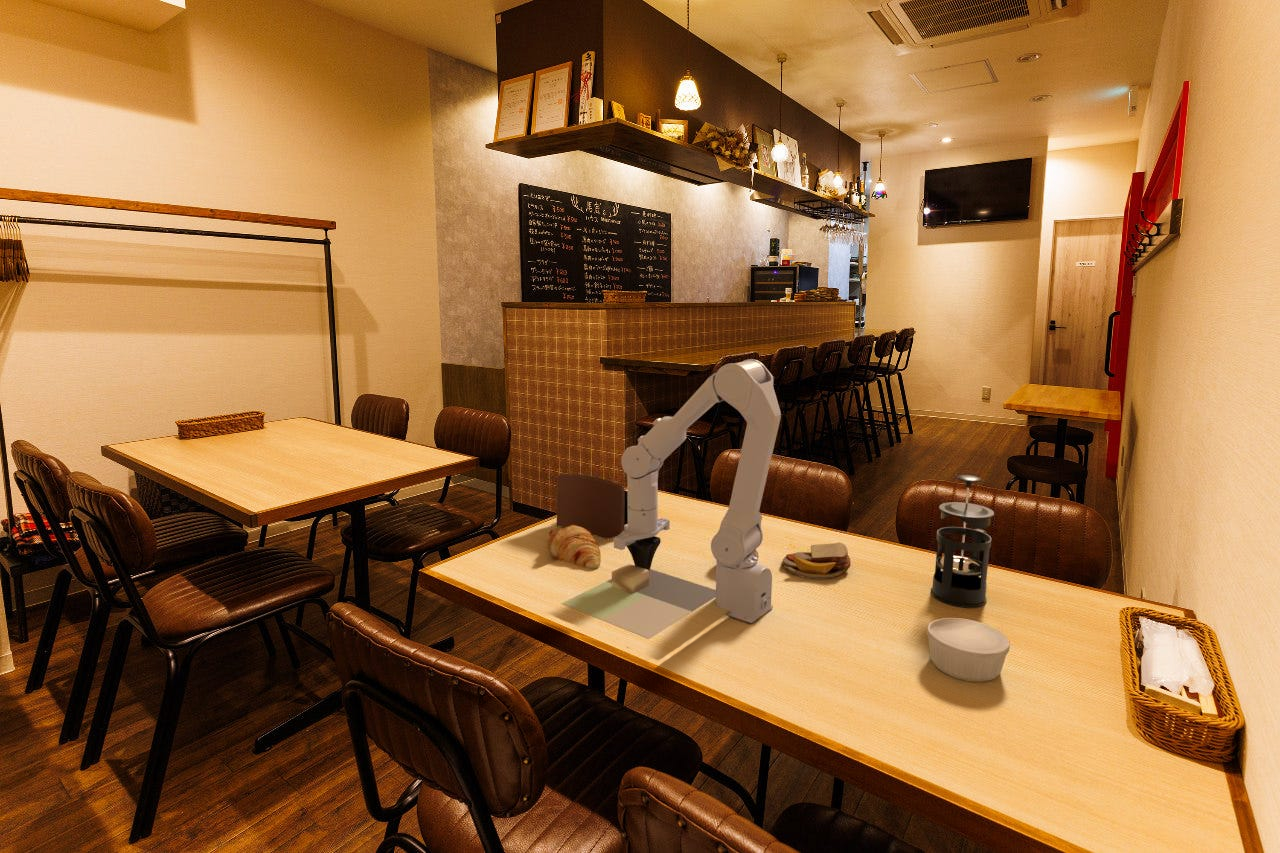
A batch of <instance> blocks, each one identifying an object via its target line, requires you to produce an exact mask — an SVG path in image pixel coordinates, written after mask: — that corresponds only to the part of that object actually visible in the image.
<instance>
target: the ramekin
mask: <svg viewBox="0 0 1280 853" xmlns="http://www.w3.org/2000/svg"><path fill="white" fill-rule="evenodd" d="M926 635H927V636H928V648H929V656H930V659H931V661H932V662H933V664H934V665H935V667H936V668H937V669H938V670H940V671H941V672H943V673H944V674H946V675H948V676H951V677H953V678H954V679H958V680H961V679H962V681H966V682H973V683H977V682H978V683H982V682H989V681H992V680H994V679H995V678H997V677H998V676H999V675H1000V674H1001V672H1002V670H1003V667H1004V664H1005V660H1006V657H1007V655H1008V654H1009V652H1010V644H1011V643H1010V641H1009V638H1007V635H1005V634H1004V633H1003V632H1002V631H1000V630H999V629H997V628H995V627H993V626H991V625H989V624H987V623H983V622H980V621H977V620H973V619H968V618H960V617H942V618H939V619H938V618H937V619H935V620H933V621H930V622H929V624H928V625H927V628H926Z"/></svg>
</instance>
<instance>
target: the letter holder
mask: <svg viewBox="0 0 1280 853" xmlns="http://www.w3.org/2000/svg"><path fill="white" fill-rule="evenodd" d="M626 524H628V502H627V490H626V489H625V488H624V487H623V485H621V484H619V483H616V482H614V481H611V480H607V479H605V478H600V477H598V476H597V477H596V476H591V475H588V474H587V475H585V474H578V473H560V474H557V476H556V527H557V526H560V527H559V528H562V527H563V528H565V527H567V526H570V525H575V526H579V527H582V528H584V529H586V530H588V531H589V532H590V533H591V534H592V536H595V535H596V537H599V536H601V537H600V538H603V537H604V538H603V539H608V538H609V539H608V540H610V539H613V538H615V537H617V536H618V535H620V534H621V533H622V532H623V531H624V530H625V529H624V525H626ZM563 528H562V529H563Z"/></svg>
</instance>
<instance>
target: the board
mask: <svg viewBox="0 0 1280 853" xmlns="http://www.w3.org/2000/svg"><path fill="white" fill-rule="evenodd" d="M713 599H716V588H715V589H714V588H712V587H708V586H705V585H701V584H699V583H695V582H692V581H688V580H687V579H686V580H685V579H683V578H680V577H677V576H673V575H669V574H667V573H664V572H662V571H658V570H655V569H653V568H652V569H651V568H650V571H649V585H648V586H647V587H645V588H643V589H641V590H639V591H637V592H635V593H633V594H631V593H628V592H625V591H622V590H619V589H617V588H614V587H612V578H610V579H608V580H607V581H605V582H602V583H601V584H600V583H599V584H598V585H596V586H594V587H592V588H591V589H588V590H586V591H584V592H582V593H580V594H578V595H576V596H574V597H572V598H569V599H568V600H565V601H563V602H561V603H560V604H561V605H563V606H566V607H568V608H571V609H574V610H576V611H578V612H581V613H584V614H586V615H589V616H591V617H593V618H597V619H598V620H601V621H603V622H606V623H608V624H611V625H613V626H616V627H617V628H621V629H624V630H626V631H629V632H631V633H634V634H636V635H638V636H640V637H643V638H645V639H648V640H650V639H651V638H653V637H654V636H656V635H658V634H659V633H661V632H662V631H664V630H666V629H667V628H668V627H670V626H672V625H674V624H675V623H677V622H678V621H680V620H682V619H683V618H685V617H686V616H688V615H689V614H690V613H692V612H694V611H696V610H697V609H699V608H700V607H702V606H704V605H705V604H707V603H709V602H710V601H712V600H713Z"/></svg>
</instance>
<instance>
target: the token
mask: <svg viewBox="0 0 1280 853" xmlns="http://www.w3.org/2000/svg"><path fill="white" fill-rule="evenodd" d="M611 579H612V587H614V588H617V589H619V590H622V591H625V592H628V593H631V594H633V593H635V592H637V591H639V590H641V589H643V588H645V587H647V586H648V585H649V570H647V569H644V568H641V567H637V566H635V564H632V563H628V564H625V565H623V566H621V567H619V568H617V569H615V570H612V571H611Z"/></svg>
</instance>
